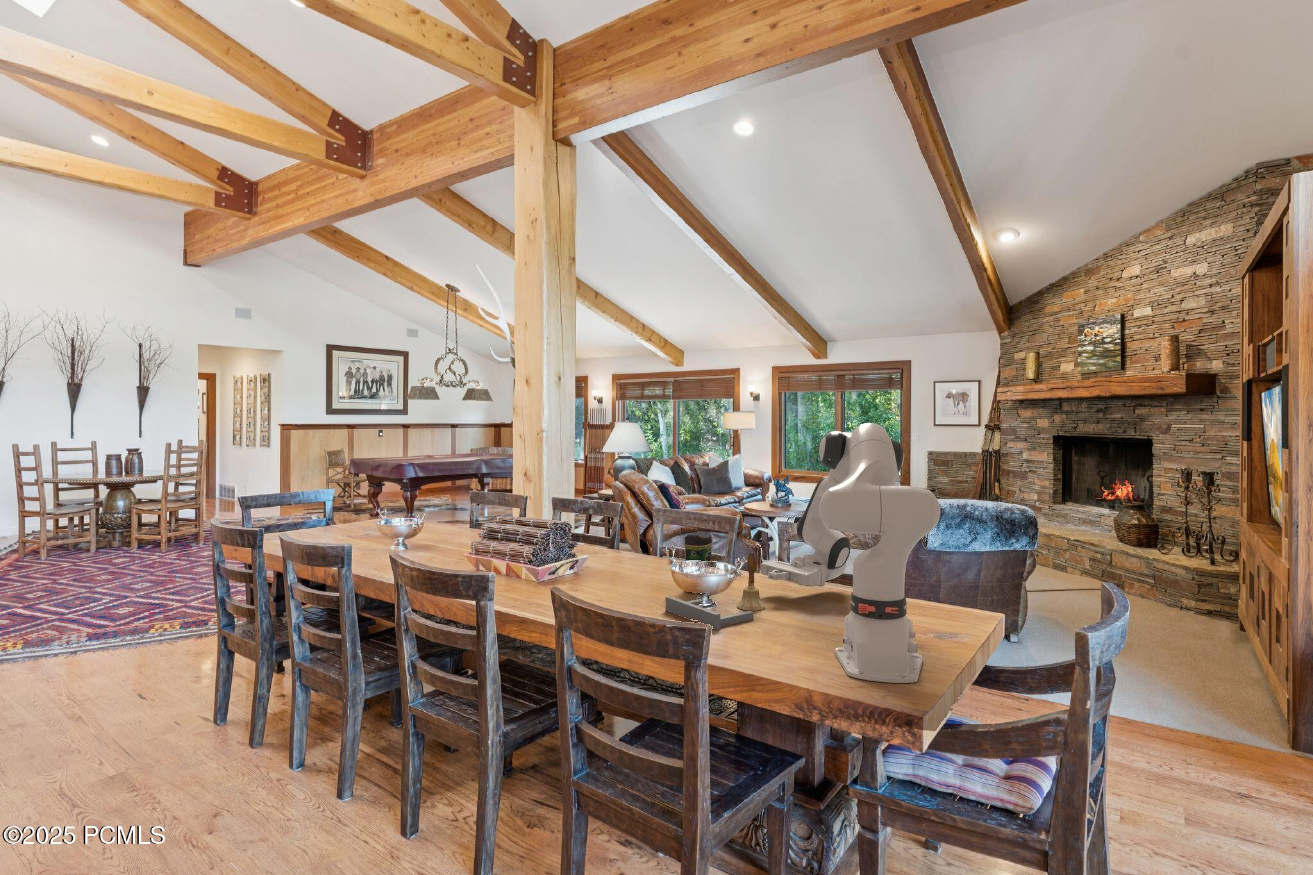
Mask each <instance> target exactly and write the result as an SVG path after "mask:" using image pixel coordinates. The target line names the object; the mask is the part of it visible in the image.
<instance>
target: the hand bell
mask: <svg viewBox="0 0 1313 875" xmlns="http://www.w3.org/2000/svg"><path fill="white" fill-rule="evenodd" d="M746 566H747V572H748V583H747V586H745V587H744V588H743V589H742V595H741V599H740V601H739V602H738V603H737V604H736V608H737V609H739V610H741V611H746V612H747V611H751V612H757V611H763V610H765V609H766V605H765V604H764V603H763V601H762V599H761V595H760V591H759V588H758V587H756V586H755V573H756V572H755V571H756V568H757V558H756V556H755V552H754V551H751V552H749V554H748V556H747V564H746Z"/></svg>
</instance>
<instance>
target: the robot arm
mask: <svg viewBox="0 0 1313 875" xmlns="http://www.w3.org/2000/svg"><path fill="white" fill-rule="evenodd" d="M818 453H819V454H818V455H819V458H820V463H821V464H822V466H823V467H825V468H828V469H830V470H829V473H828V475H825V476H823V477H822V478H820V479H819V481H818V482H817V483H816V485H815V487H814V489H813V492H812V494H811V495H810V496H811V497H810V499H809V500H808V503H807V506H806V509H805V510H804V513H803V515H802V516H801V517H800V519H799V520H798V522H797V525H796V536H797V538H798V539H799V540H801V541H802V542H803V543H805V544H806V545H808V546H809V547H810V548H811V549H812V550H814V553H813V554H806V555H799V556H795V557H794V558H792V559H791V561H790V563H789V562H785V561H782V560H771V561H764V562H762V563H760V574H761V575H763V576H767V578H768V579H770V580H773V581H786V582H790V583H793V584H796V585H799V586H804V587H824V586H826V582H827V581H830V580H834V579H836V578H838V577H839V576H841V575H843V573H845V571H846V568H847V561H848V559H849V557H850V554H851V547H852V546H851V540H850V539H849V537H847V535H845V534H844V533H847V534H863V535H864V534H865V535H866V534H867V535H881V538H880V541H879V542H878V543H877V544H876V545H874V546H873V547H870V548H868V549H865V550H863V551H862V552H860V553H859V554H857V556H856V557H855V558H854V560H853V562H852V592H851V593H850V600H849V602H850V610H851V611H850V612H849V613H848V614H847V615H845V617H843V639H842V642H843V646H841V647H840V646H839V647H836V648H835V649H834V654H835V657H836V659H837V660H838V661H839V663H840V665H841V667H842V668H843V670H844V672H845V673H846V675H847V676H849V677H852V678H856V679H859V680H864V681H865V680H866V681H872V682H880V683H881V682H882V683H891V684H893V683H895V684H909V683H911V684H912V683H917V682H918V681H919V677H920V674H921V670H922V666H923V662H924V659H923V655H922V654H919V653H918V642H916V641H913V639H916V632H915V631H913V629H914V628H913V626H914V625H913V621H911V619H910V618H909V617H907V614H908V613H907V610H908V609H907V608H908V602H907V597H906V595H905V580H906V568H907V562H908V559H909V557H910V554H911V552H912V550H913V549H914V548H915V546H916V544H918V542H919V541H920V540H921V539H922V538H924V537H925V536H926V535H927V534H929V533H931V532H932V531H933V530H935V527H937V526H938V523H939V521H940V518H941V506H940V503H939V500H938V499H937V497H936V495H935V494H934V493H933V492H932V491H931V490H930V489H925V488H921V487H917V486H912V485H911V486H910V485H895V483H896V482H897V480H898V477H899V473H900V471H901V468H902V467H903V464H904V460H905V454H904V448H903V445H902V444H901V443H900V442H899V441H897V440H896V439H892V438H890V436H889V433H888V432H887V430H886V429H885V428H884V427H883V426H881V425H880V424H877V423H874V422H866V423H862V424H860V425H858V426H857V427H855V429H854V430H853V431H852V432H850V431H848V432H847V431H846V432H845V431H841V430H834V431H832V430H831V431H828V432H827V433H825V434H824V436H823V438H822V440H821V442H820V443H819V447H818Z"/></svg>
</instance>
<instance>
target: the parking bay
mask: <svg viewBox="0 0 1313 875" xmlns="http://www.w3.org/2000/svg"><path fill="white" fill-rule="evenodd" d="M701 599H702V598H699V599H694V600H687V601H685V600H682V599H680V598H677V597H673V596H671V595H670V596H665V611H666V610H667V611H670V612H672V613H675V614H676V615H675V614H674V615H675V616H677V615H680V616H682V617H686V619H685V620H688V619H693V620H698V621H695V622H701V623H704V624H710V625H711V626H713V629H712V630H714V631H718V630H721V628H722V627H726V626H731V625H735V624H740V623H744V622H748V621H754V618H755V617H754V615H755V614H754V612H755V611H747V610H746V611H743V612H739V613H738V612H737V613H733V614H729V615H724V616H721V613H719V612H716V611H714V610H712V609H708V608H706V607H700V606H698V605H699V604H701V602H702V601H703V600H701ZM709 599H710V601H711V602H712V603H713V598H711V597H709ZM667 611H666V612H667ZM670 612H669V613H670ZM672 613H671V614H672ZM680 616H679V617H680ZM682 617H681V618H682ZM695 622H694V623H695Z"/></svg>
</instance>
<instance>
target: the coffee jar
mask: <svg viewBox="0 0 1313 875" xmlns="http://www.w3.org/2000/svg"><path fill="white" fill-rule="evenodd" d="M712 548H713V537H712V534H711V533H710V532H709V531H702V530H701V531H699V530H698V531H696V532H692V533H689V534H687V535H685V536H684V550H685V561H686V560H701V561H711V562H712V563H713V561H712V558H713V557H712V551H713V550H712Z"/></svg>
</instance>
